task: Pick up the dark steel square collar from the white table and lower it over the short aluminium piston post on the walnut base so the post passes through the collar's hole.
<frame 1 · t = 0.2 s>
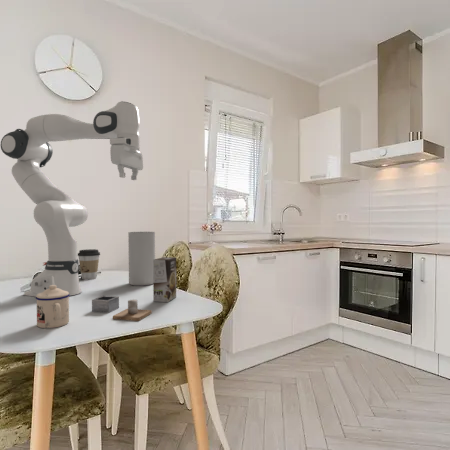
hand: (128, 178, 137), 47 cm above the table, tool pointing down, fingers open, 8 cm apart
steel collar: (105, 309, 119), on the table
cylinder vase: (142, 283, 168), on the table
teacup with lid: (54, 326, 102), on the table
coffee box: (165, 299, 135), on the table
coffee cup: (89, 278, 182), on the table
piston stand: (132, 316, 112), on the table
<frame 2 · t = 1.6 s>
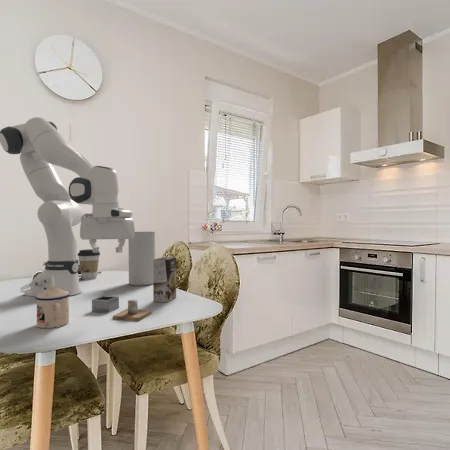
hand: (107, 252, 120), 20 cm above the table, tool pointing down, fingers open, 8 cm apart
nothing on the table moved.
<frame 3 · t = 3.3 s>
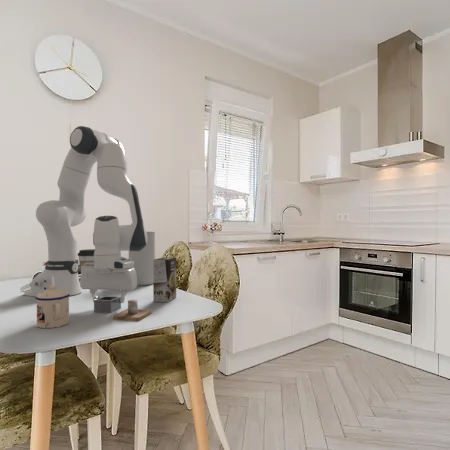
hand: (108, 302, 120), 2 cm above the table, tool pointing down, fingers open, 8 cm apart
nothing on the table moved.
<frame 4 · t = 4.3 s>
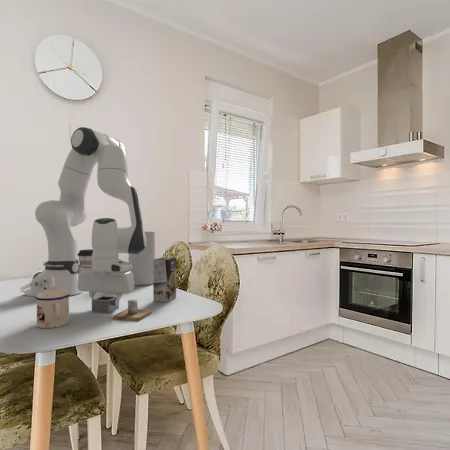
hand: (105, 305, 119), 2 cm above the table, tool pointing down, fingers closed on steel collar, 6 cm apart
steel collar: (105, 309, 119), on the table, touching gripper
everything else where it was.
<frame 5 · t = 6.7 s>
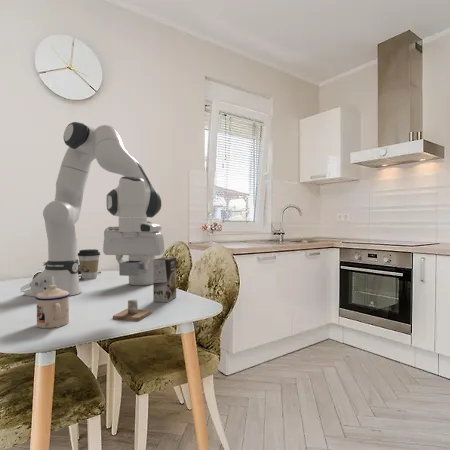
hand: (133, 269, 112), 15 cm above the table, tool pointing down, fingers closed on steel collar, 6 cm apart
steel collar: (133, 274, 112), point 14 cm above the table, touching gripper
everything else where it was.
when the fingers open (4 cm above the table, at t = 9.3 s): steel collar drops 1 cm, resting on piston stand.
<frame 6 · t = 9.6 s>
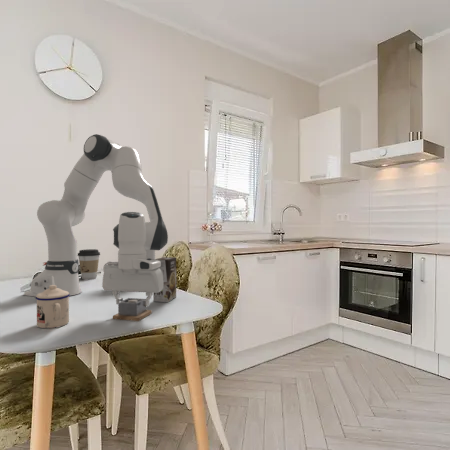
hand: (132, 304, 112), 4 cm above the table, tool pointing down, fingers open, 8 cm apart
steel collar: (132, 313, 112), point 1 cm above the table, touching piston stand
everything else where it was.
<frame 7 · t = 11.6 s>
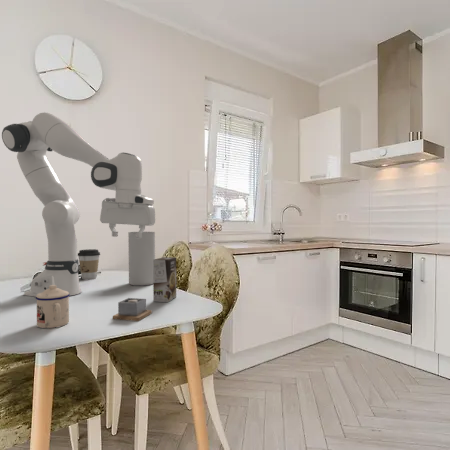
hand: (126, 237, 124), 25 cm above the table, tool pointing down, fingers open, 8 cm apart
nothing on the table moved.
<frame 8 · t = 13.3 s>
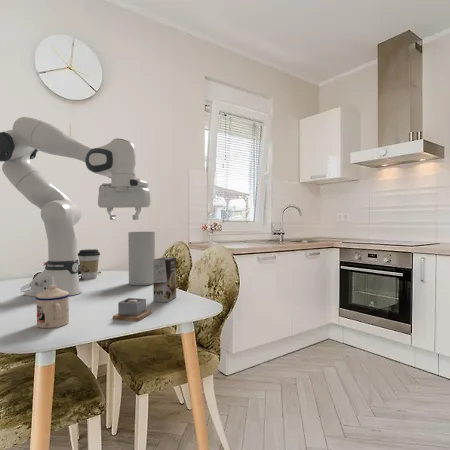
hand: (124, 219, 129), 31 cm above the table, tool pointing down, fingers open, 8 cm apart
nothing on the table moved.
at the end: steel collar 0.1 cm off-centre on the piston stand, point 1.0 cm above the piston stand's base; the gripper is holding nothing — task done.
